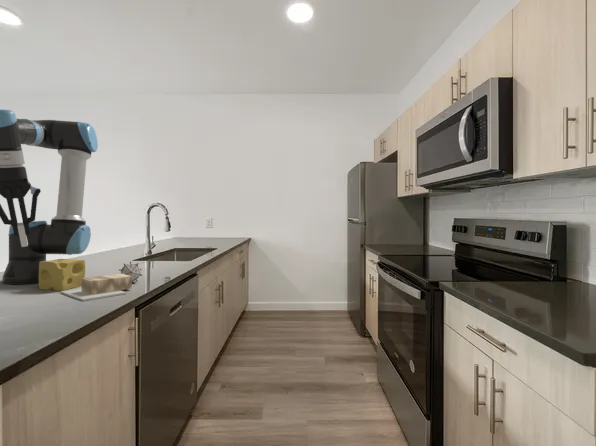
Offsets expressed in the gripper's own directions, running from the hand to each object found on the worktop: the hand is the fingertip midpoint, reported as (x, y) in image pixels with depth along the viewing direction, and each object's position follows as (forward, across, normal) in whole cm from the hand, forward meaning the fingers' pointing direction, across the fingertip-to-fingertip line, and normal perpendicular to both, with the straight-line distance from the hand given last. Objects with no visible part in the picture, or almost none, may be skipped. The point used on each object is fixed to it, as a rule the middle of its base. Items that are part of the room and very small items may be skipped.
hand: (24, 245), depth 108 cm
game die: (+26, +30, +17) cm, 43 cm away
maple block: (+18, +14, +2) cm, 22 cm away
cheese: (+22, +7, +18) cm, 29 cm away
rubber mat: (+21, +16, +2) cm, 26 cm away
